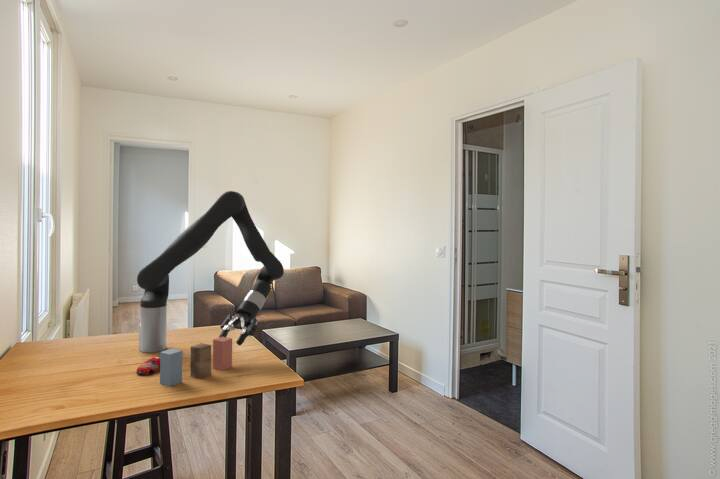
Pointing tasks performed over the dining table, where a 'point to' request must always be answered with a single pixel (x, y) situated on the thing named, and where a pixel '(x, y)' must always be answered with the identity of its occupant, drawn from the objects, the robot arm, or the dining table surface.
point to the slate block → (170, 367)
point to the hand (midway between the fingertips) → (229, 342)
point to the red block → (222, 353)
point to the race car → (149, 366)
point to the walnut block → (200, 361)
